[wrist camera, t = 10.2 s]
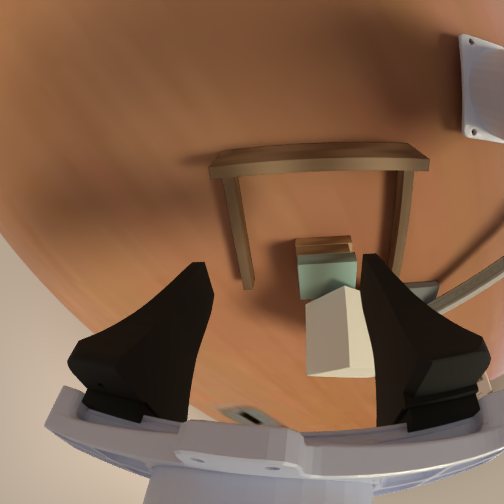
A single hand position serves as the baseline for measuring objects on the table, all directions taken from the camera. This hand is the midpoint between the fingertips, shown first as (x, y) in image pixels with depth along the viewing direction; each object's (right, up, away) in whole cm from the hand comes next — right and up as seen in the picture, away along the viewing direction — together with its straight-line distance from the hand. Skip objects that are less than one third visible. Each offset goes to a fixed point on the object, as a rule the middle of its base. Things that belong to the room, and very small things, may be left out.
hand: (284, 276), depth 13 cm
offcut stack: (+5, +1, +12) cm, 13 cm away
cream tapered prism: (+11, -7, +11) cm, 17 cm away
